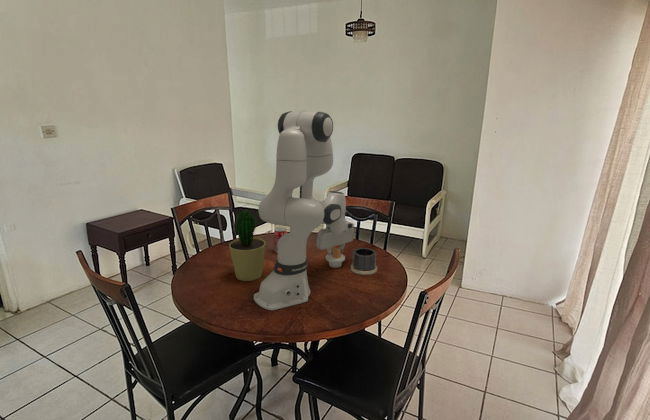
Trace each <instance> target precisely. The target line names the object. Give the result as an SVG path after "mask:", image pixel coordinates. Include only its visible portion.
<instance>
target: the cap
mask: <svg viewBox="0 0 650 420" xmlns="http://www.w3.org/2000/svg"><path fill="white" fill-rule="evenodd" d="M330 251H331V252H333V254H332V256H328V254H326V256H325V261H327V262H328V266H329V267H330V268H336V269H337V268H341V267H342V265H343V264H342V263H343V262H344V261H345V260H346V256H345V254H343V253H341V250H340V249H339V247H336V246H334V247H331V249H330Z"/></svg>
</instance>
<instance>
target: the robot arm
mask: <svg viewBox="0 0 650 420" xmlns="http://www.w3.org/2000/svg"><path fill="white" fill-rule="evenodd" d="M277 131H278V134H279V135H278V140H277V144H276V146H277V147H276V160H275V161H276V163H275V164H276V165H275V167H276V168H275V178H274V184H273V187H272V188H271V190H270V192H269V193H268V194H267V195H266V196H264V197H263V198H262V199H261V200H260V202H259V205H258V208H257V209H258V211H257V212H258V215H259V218H260V219H261V220H262V221H263V222H265V223H267V224H272V225H275V226H283V227H284V226H285V227H289V232H287V234H286V235H284V236H282V237H281V238H280V239H279V240H278V243H277V252H276V253H277V254H276V255H277V258H276V261H275V263H274V262H273V261H270V262H268V267H269V268H271V269H273V270H272V271H271V272H270V273H269V274H268V275H267V276H266V277H265V278H264V279H263V280H262V281H261V282H260V285H259V290H258V292H256V293H254V294H253V301H254V302H255V304H257V305H258V306H259V307H261V308H263V309H265V310H266V311H267V310H268V311H276V310H279V309H280V310H281V309H285V308H288V307H292V306H296V305H300V304H303V303H306V302H308V301H309V296H310V295H311V289H310V285H309V281H308V275H307V274H308V273H307V271H308V270H307V269H308V259H307V242H308V238H309V236H310V234H311V233H312V232H313V231H314V230H315V229H317V228H319V227H320V226H321V225H325V228H321V229H320V230H319V231H318V232H317V237H316V245H315V246H316V248H317V249H319V250H321V251H324V250H326V252H327V255H328V256H332V254H333V252H331V251H330V249H331V247H337V246H339V245H340V246H339V247H338V249H340V250H341V254H343V252H344V248H345V246H346V244H347V243H351V242H353V240H354V238H355V229H354V227H355V225H354V223H353V222H351V221H348V220H346V210H347V206H346V205H347V202H346V195H345V192H342V191H336V190H329V191H328V192H327V197H326V198H325V199H324V200H317V199H315V198H314V197H313V189H314V179H315V178H318V177H320V176H323V175H325V174H327V173H328V172H330V170H331V169H332V168H333V165H334V164H333V163H334V151H333V142H332V139H331V137H332V134H333V131H334V120H333V118H332V117H331V116H330V115H329V113H327V112H322V111H311V110H310V111H309V110H297V111H296V110H295V111H293V110H292V111H291V110H290V111H287V112H284V113H282V114H281V115H280V116H279V118H278V120H277ZM298 188H299V197H294V196H293V191H294V190H295V189H298Z"/></svg>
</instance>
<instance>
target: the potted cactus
mask: <svg viewBox="0 0 650 420" xmlns="http://www.w3.org/2000/svg"><path fill="white" fill-rule="evenodd" d="M235 219H236V220H234V221H235V222H236V228H235V233H237V237H238V239H235V240H233V241H231V242H229V244H228V246H229V252H230V256H231V260H232V261H231V262H232V265H233V269H234V273H235V277H236V279H237V280H240V281H243V282H251V281H256V280H258V279H260V278H261V277H262V276H263V271H264V261H265V260H264V259H265V251H266V244H267V243H266V241H265V240H264V239H262V238H258V237H255V236H256V234H255V230H256V229H257V227H256V226H257V224H256V218H255V216H254V215H253V212H252V213H251V211H250V210H242V211H241V212H239V213H237V216H236V217H235Z"/></svg>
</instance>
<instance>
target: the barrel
mask: <svg viewBox="0 0 650 420" xmlns="http://www.w3.org/2000/svg"><path fill="white" fill-rule="evenodd" d="M376 263H377V251H376V250H375V249H372V248H367V247H358V248H355V249H354V250H353V251H352V263H351V265H350V271H351V273H354V274H355V275H361V276H371V275H375V274H376V273H377V272H378V266H377V264H376Z"/></svg>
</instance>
